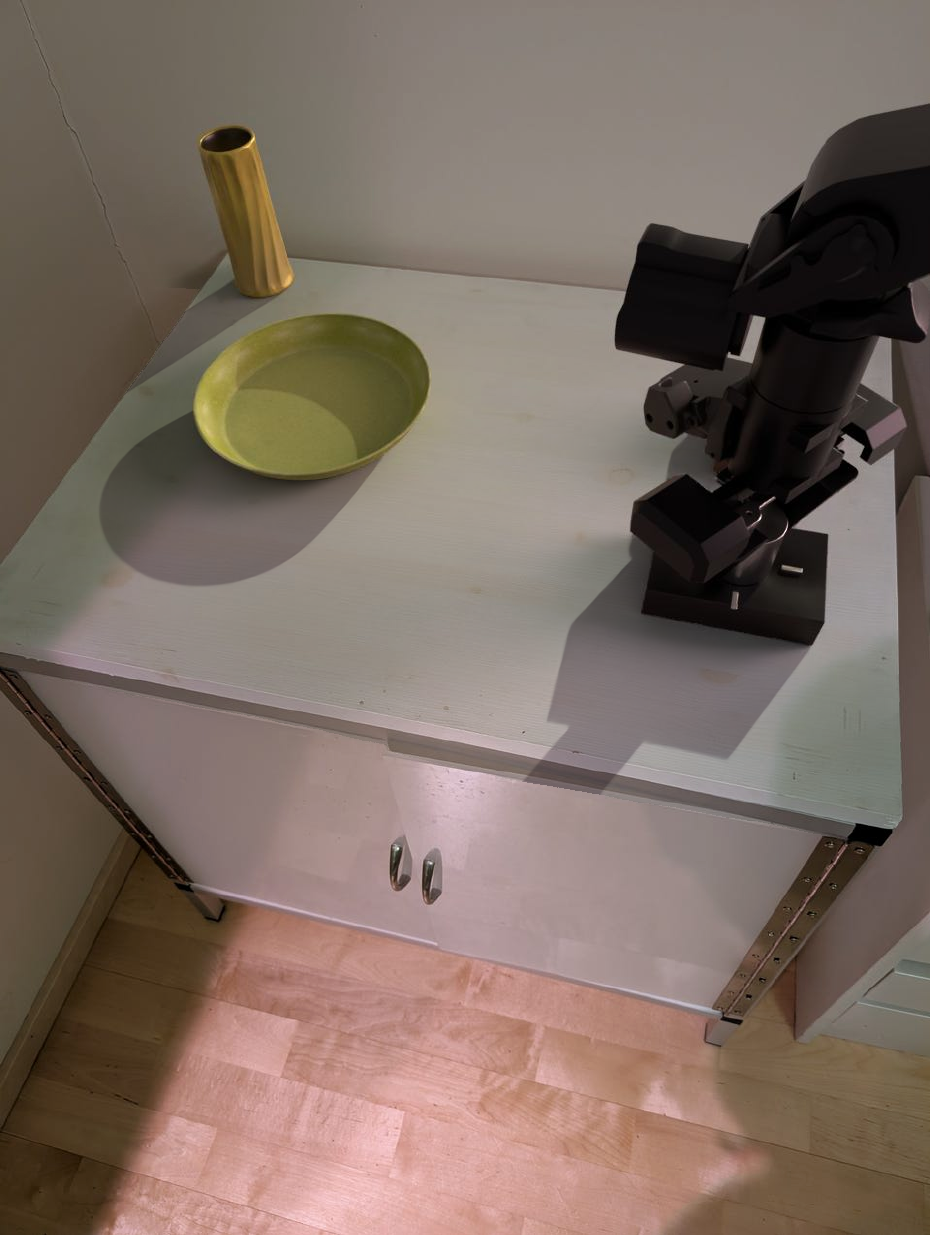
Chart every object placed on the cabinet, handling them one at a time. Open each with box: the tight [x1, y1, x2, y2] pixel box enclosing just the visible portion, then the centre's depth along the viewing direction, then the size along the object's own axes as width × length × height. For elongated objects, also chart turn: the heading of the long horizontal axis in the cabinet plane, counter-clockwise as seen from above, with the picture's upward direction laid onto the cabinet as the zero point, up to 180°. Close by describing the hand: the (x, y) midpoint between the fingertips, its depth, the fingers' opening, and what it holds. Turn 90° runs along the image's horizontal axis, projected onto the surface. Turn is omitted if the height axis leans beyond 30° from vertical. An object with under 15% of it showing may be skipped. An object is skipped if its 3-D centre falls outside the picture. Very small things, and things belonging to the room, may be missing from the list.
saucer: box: [192, 312, 432, 481], centre depth 73 cm, size 21×21×3 cm
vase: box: [196, 124, 295, 298], centre depth 81 cm, size 6×6×14 cm
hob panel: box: [640, 527, 829, 647], centre depth 61 cm, size 12×9×3 cm
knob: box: [721, 501, 788, 585], centre depth 57 cm, size 4×4×5 cm
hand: (740, 556), depth 59 cm, fingers closed on knob, 4 cm apart
